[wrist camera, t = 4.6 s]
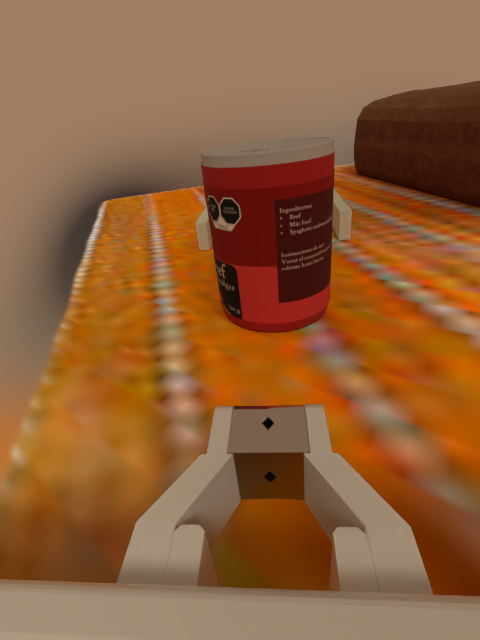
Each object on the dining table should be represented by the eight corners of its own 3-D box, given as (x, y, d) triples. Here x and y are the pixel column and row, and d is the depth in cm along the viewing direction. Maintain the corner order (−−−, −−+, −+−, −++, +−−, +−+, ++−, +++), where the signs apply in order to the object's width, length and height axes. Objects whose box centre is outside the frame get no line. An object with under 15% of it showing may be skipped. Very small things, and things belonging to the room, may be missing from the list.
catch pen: (329, 205, 50) (330, 183, 49) (350, 239, 37) (352, 210, 36) (216, 215, 52) (214, 194, 51) (199, 250, 39) (195, 223, 38)
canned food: (232, 285, 30) (215, 145, 25) (327, 284, 29) (332, 133, 23) (210, 334, 24) (180, 159, 18) (331, 336, 22) (338, 144, 17)
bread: (420, 165, 73) (432, 87, 66) (639, 202, 39) (707, 52, 32) (349, 175, 71) (354, 96, 64) (515, 222, 38) (560, 69, 31)
